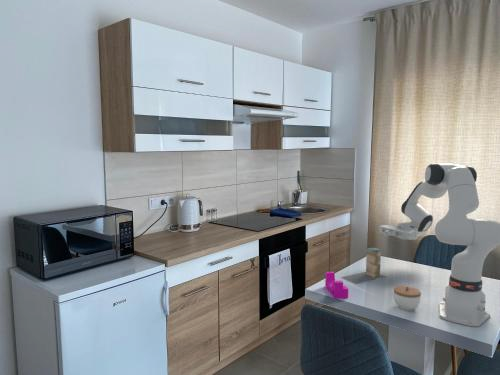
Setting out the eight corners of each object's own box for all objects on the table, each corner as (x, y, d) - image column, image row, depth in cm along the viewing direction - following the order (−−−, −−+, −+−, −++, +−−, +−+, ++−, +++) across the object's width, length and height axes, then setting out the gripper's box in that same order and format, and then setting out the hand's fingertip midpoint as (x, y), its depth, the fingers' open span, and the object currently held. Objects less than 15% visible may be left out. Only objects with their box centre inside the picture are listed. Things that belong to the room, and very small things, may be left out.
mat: (370, 271, 209) (370, 270, 208) (386, 277, 199) (386, 276, 199) (340, 278, 198) (340, 277, 198) (355, 284, 188) (355, 283, 188)
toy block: (348, 298, 171) (348, 282, 171) (334, 298, 171) (335, 282, 170) (337, 286, 186) (338, 271, 186) (325, 286, 186) (325, 271, 185)
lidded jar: (392, 301, 168) (393, 280, 167) (418, 304, 165) (419, 283, 164) (393, 310, 158) (394, 289, 157) (421, 314, 155) (422, 292, 154)
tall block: (372, 272, 205) (373, 247, 204) (379, 275, 201) (381, 249, 199) (365, 274, 203) (367, 248, 201) (373, 277, 198) (374, 250, 197)
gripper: (388, 221, 220) (372, 224, 213) (420, 228, 202) (402, 231, 195) (388, 232, 220) (371, 235, 214) (419, 240, 203) (401, 243, 196)
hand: (386, 233), depth 204 cm, fingers closed
